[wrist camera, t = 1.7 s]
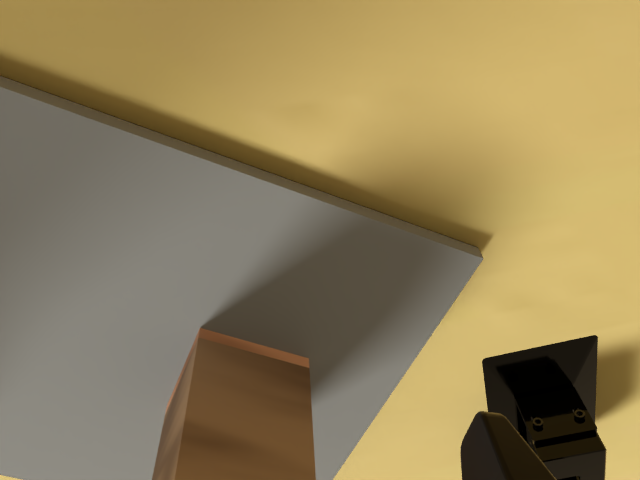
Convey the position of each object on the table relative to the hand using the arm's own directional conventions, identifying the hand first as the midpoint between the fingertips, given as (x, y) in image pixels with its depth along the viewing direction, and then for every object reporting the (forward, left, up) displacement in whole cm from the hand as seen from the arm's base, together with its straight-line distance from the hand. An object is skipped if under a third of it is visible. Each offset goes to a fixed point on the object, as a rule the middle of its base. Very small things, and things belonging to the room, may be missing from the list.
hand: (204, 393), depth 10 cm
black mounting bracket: (-10, -20, -15) cm, 26 cm away
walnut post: (-12, -4, -13) cm, 18 cm away
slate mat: (-12, 0, -14) cm, 18 cm away
